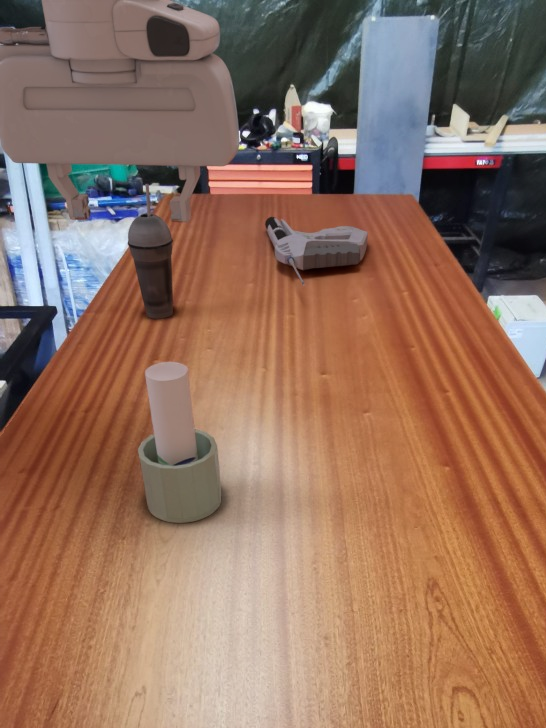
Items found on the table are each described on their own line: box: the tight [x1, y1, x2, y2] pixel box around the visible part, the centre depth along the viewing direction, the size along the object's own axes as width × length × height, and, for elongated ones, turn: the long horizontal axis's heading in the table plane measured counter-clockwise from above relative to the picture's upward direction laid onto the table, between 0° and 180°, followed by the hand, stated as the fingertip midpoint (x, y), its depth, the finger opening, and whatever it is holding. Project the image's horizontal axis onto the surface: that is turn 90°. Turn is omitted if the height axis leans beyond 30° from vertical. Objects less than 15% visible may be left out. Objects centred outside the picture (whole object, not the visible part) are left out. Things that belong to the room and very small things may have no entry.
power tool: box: [264, 216, 369, 287], centre depth 142 cm, size 45×5×20 cm
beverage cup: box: [127, 183, 174, 320], centre depth 120 cm, size 7×7×20 cm
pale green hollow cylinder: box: [137, 428, 222, 524], centre depth 82 cm, size 8×8×7 cm
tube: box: [144, 361, 198, 466], centre depth 79 cm, size 4×4×15 cm
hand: (130, 219), depth 67 cm, fingers open, 8 cm apart
